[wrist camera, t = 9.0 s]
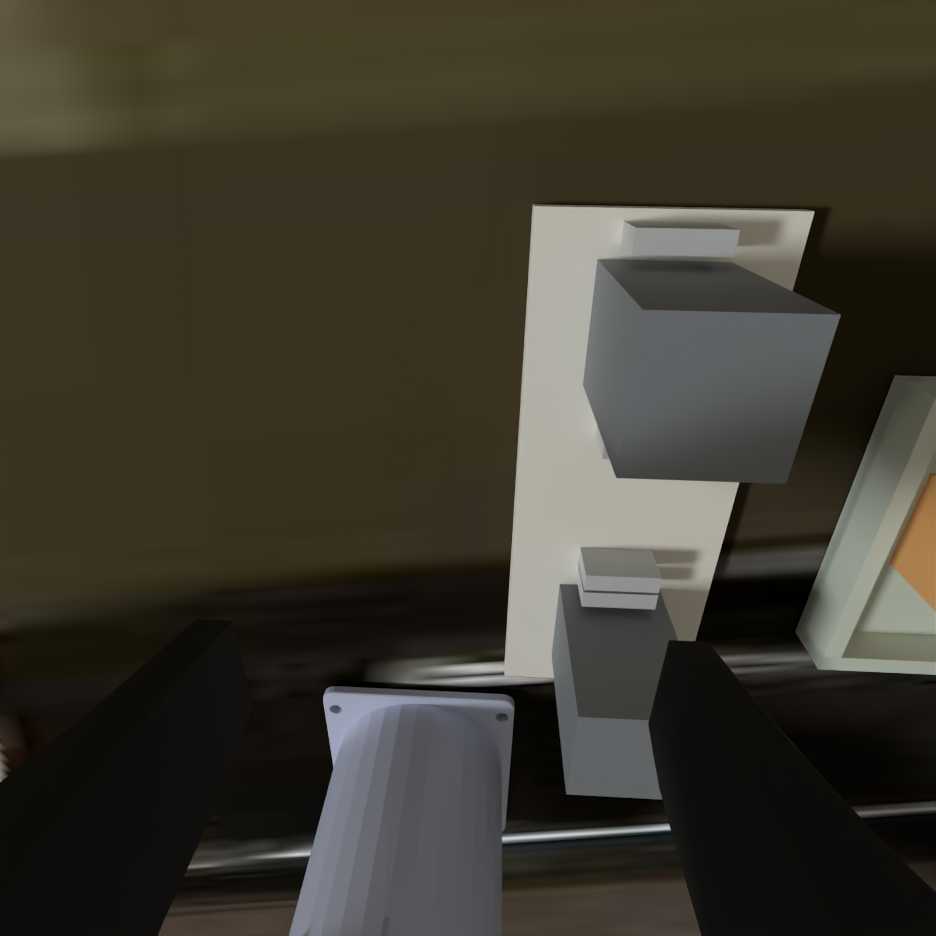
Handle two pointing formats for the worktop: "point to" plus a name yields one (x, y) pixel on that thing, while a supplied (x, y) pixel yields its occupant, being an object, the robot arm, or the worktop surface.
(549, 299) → the panel
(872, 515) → the tray
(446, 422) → the worktop surface
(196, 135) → the worktop surface
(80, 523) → the worktop surface
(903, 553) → the block
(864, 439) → the worktop surface
